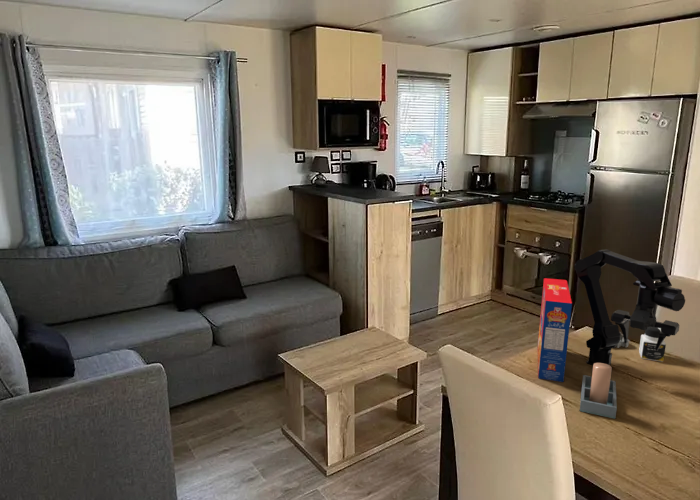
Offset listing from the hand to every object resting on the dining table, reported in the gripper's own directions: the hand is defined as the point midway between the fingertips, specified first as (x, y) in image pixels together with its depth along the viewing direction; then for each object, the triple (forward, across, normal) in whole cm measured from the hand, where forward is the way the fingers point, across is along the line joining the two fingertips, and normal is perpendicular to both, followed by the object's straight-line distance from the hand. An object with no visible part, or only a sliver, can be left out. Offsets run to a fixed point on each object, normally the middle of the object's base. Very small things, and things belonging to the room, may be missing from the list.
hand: (640, 346), depth 168 cm
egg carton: (+13, -16, +28) cm, 35 cm away
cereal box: (+13, -27, -6) cm, 31 cm away
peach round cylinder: (+12, -4, -26) cm, 29 cm away
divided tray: (+13, -5, -22) cm, 26 cm away
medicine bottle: (+13, -2, +26) cm, 29 cm away
